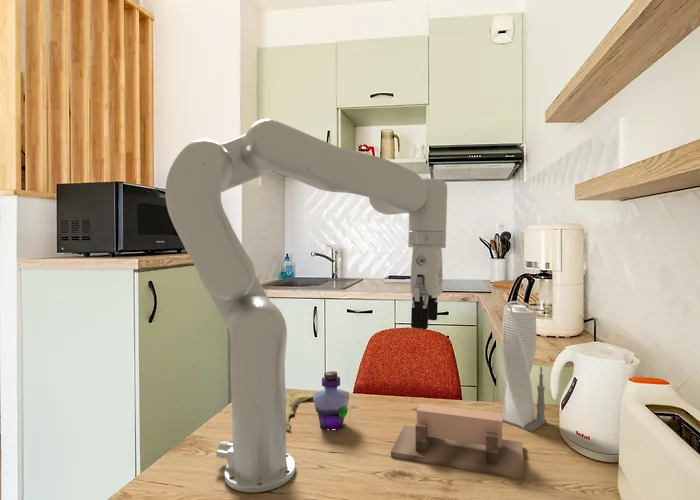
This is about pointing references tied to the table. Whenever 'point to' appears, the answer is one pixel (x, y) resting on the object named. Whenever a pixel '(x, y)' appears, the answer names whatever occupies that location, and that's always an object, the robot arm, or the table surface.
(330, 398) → the potion bottle
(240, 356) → the robot arm
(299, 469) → the table surface
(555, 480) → the table surface
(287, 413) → the animal bone
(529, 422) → the skyscraper
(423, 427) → the rack
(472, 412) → the pink rectangular block
